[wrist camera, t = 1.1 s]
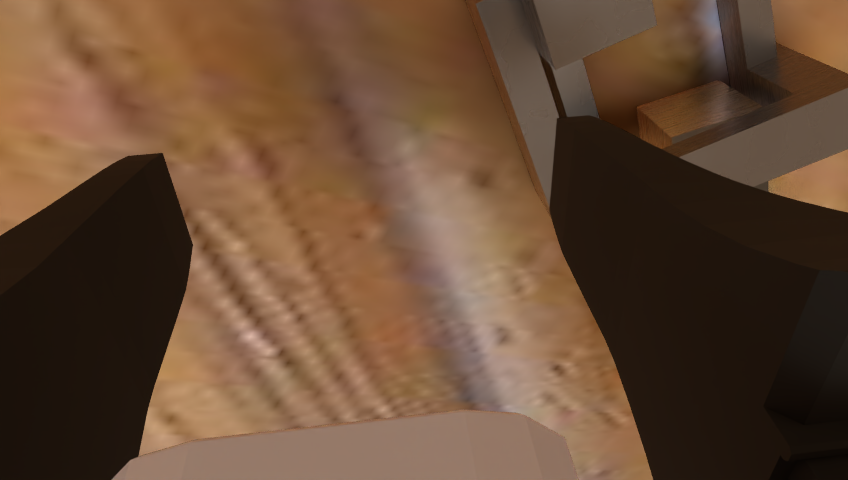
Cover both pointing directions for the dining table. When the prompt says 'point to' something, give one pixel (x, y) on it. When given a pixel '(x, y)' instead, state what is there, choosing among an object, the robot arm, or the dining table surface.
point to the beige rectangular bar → (692, 114)
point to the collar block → (631, 14)
